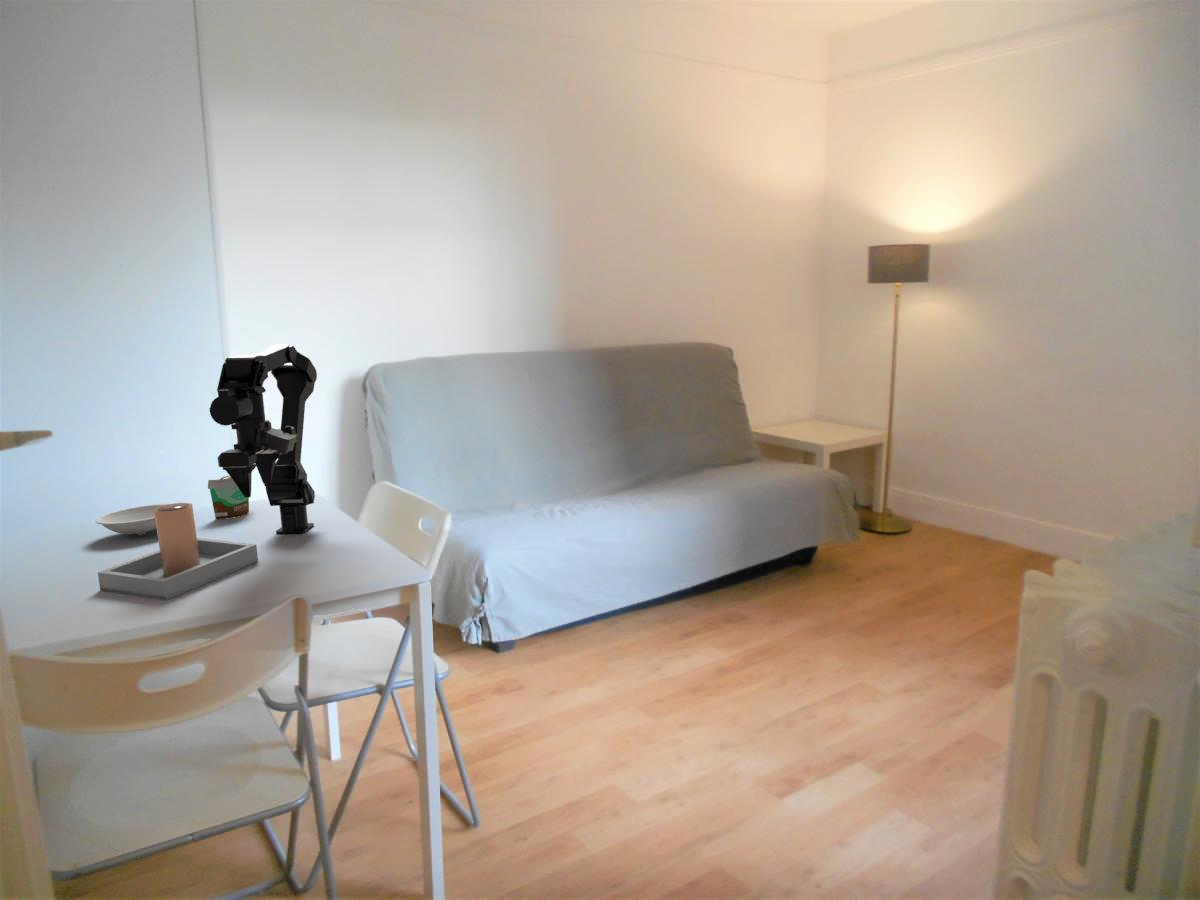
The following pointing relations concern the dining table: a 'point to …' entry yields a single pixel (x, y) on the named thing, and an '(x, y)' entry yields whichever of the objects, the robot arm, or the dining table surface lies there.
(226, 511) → the food container
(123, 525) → the dish
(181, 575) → the tray
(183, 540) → the cup
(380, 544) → the dining table surface
